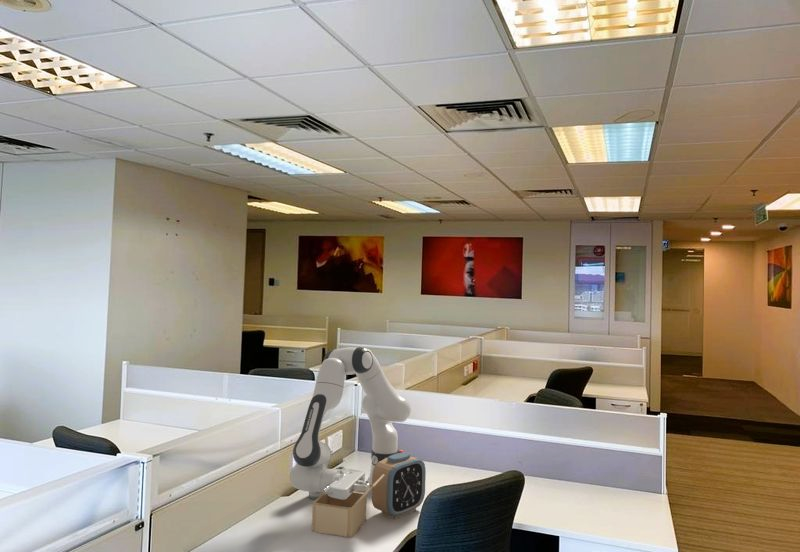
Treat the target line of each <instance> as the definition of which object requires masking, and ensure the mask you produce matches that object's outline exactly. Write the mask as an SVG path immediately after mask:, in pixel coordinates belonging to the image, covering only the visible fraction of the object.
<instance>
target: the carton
mask: <svg viewBox="0 0 800 552" xmlns="http://www.w3.org/2000/svg"><path fill="white" fill-rule="evenodd" d="M364 493H365V492H359V491H354V492H353V493H352V494H351V495H350V496H349V497H348V498H347V499H344V500H342V499H336V498H332V497H329V496H328V494H321V495H320V496H319V497H318V498H317V499H314V501H312V510H311V512H312V515H311V516H312V519H311V532H313V533H318V534H319V533H320V534H326V535H332V536H333V535H334V536H338V537H345V538H350V539H352V538H353V537H354V536H355V534H356V533H357V532H358V531H359V530H360V529H361V527H362V526H363V525H364V524H365V522H366V521H367V502H368V501H367V498H368V497H367V495H368V493H367V494H366V495H365V496H364V497H363V498H362V499H361V500H360V501H359V502H358V503H357V504H356V505H354V504H355V503H356V502H357V501H358V500H359V498H360V497H361V496H362V495H363V494H364Z"/></svg>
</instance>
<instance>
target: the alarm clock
mask: <svg viewBox="0 0 800 552" xmlns="http://www.w3.org/2000/svg"><path fill="white" fill-rule="evenodd" d="M383 474H384V476H383V478H382V479H381V480H380V481H379V482H378V483H377V484H376V485H375V486H374V487H373V488H372V489H371V502H372V506H373V507H374V509H377V510H378V511H381V514H383V515H385V516H387V515H388V517H389V516H390V517H389V518H392V519H394V518H395V519H394V520H396V518H397V519H400V518H402V517H404V516H406V515H409V514H411V513H413V512H416V511H417V508H418V507H420V506H421V505H422V503H423V501H424V498H425V494H426V474H427V473H426V465H425V462H424V461H423V460H421V459H420V458H416V457H414V456H413V457H412V456H411V453H408V452H405V451H404V452H402V453H397V454H394V455H391V456H389V457H388V458H386V459H383V460H381V461H379V462H378V463H377V464H376V466H375V468H374V470H373V475H372V485H373V484H374V483H375V482H376V481H377V480H378V479H379V478H380V477H381V476H382V475H383ZM372 485H371V486H372ZM401 516H402V517H401ZM399 517H400V518H399Z"/></svg>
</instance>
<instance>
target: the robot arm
mask: <svg viewBox="0 0 800 552" xmlns="http://www.w3.org/2000/svg"><path fill="white" fill-rule="evenodd" d="M321 362H322V363H321V365H320V367H319V371H318V373H317V377H316V380H315V386H314V388H313V389H314V390H313V393H312V394H313V395H312V397H311V400H310V402H309V405H308V409H307V412H306V415H305V418H304V422H303V426H302V430H301V433H300V435H299V437H298V439H297V440H296V442H295V443H294V445H293V448H292V457H293V459H294V461H295V463H296V464H294V465H293V467H292V468H291V469H290V473H289V474H290V475H289V481H290V483H291V485H292V487H293V488H295V489H297V490H300V491H303V492H308V493H309V492H319V493H322V494H328V496H329V497H332V498H336V499H342V500H344V499H347V498H348V497H349V496H350V495H351V494H352V493H353V492H359V491H361V492H362V491H365V492H366V491H367V490H368V489H369V488H370V487H371V486H372V475H373V470H374V468H375V466H376V464H377V463H378V462H379V461H381V460H383V459H386V458H388V457H389V456H391V455H394V454H397V453H402V452H405V451H404V450H402V449H400V450H399V449H398V441H399V439H398V438H399V435H398V434H399V433H398V432H397V429H396V428H395V427H394V425H393V423H403V422H406V420H408V419H409V417H410V415H411V411H412V409H411V408H412V407H411V404H410V403H409V402H408V401H407V399H405V398H404V397H402V396H401V394H399V393H398V391H397V389H395V388H394V386H393V385H392V384H391V383H390V382H389V380H388V379H387V376H386V374H385V373H384V370H383V369H382V367H381V364H380V362H379V361H378V359H377V357H376V356H375V354H374V353H373V352H372V351H371V350H370V349H369V348H367V347H361V346H359V347H357V346H356V347H355V346H354V347H351V346H348V347H344V348H343V347H341V348H333V349H330V350H329V351H327V352H326V353H325V355H324V357H323V361H321ZM348 375H349V376H350V375H356V378H357V380H358V381H359V383H360V386H361V388H362V390H363V391H364V393H365V396H364V397H363V399H362V404H361V406H362V408H363V411H364V412H365V413H366V415H367V417H368V419H369V423H370V426H371V431H372V432H371V434H372V449H371V453H370V454H371V456H370V459H371V464H370V471H369V475H368V480H367V482H365V479H366V473H365V472H364V471H363V470H360V469H354V468H346V467H345V466H338V467H336V468H335V467H334V468H329V464H330V462H331V459H332V449H331V447H330V446H329V445H328V444H327V443H325V442H323V441H320V439H319V435H320V431H321V429H322V424H323V420H324V417H325V415H326V413H327V412H329V411H330V410H332V409H335V408H336V407H337V406H338V405H339V404H340V402H341V400H342V397H343V392H344V387H345V377H346V376H348ZM392 422H393V423H392Z"/></svg>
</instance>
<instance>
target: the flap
mask: <svg viewBox="0 0 800 552" xmlns="http://www.w3.org/2000/svg"><path fill="white" fill-rule="evenodd" d="M383 476H384V474H383V475H382V476H381V477H380V478H379V479H378V480H377V481H376V482H375V483H374V484H373V485H370V487H369V488H368V489H367V490H366V491H365V492H363V493H364V494H363V495H362V496H361V497H360V498H359V500H358V501H357V502H356V503H355V504H354V505H356V504H357V503H358V502H359V501H360V500H361V499H362V498H363V497H364V496H365V495H366V494H367V495H368V493H370V491H372V488H373V487H374V486H375V485H376V484H377V483H378V482H379V481H380V480H381V479H382V478H383Z"/></svg>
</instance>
